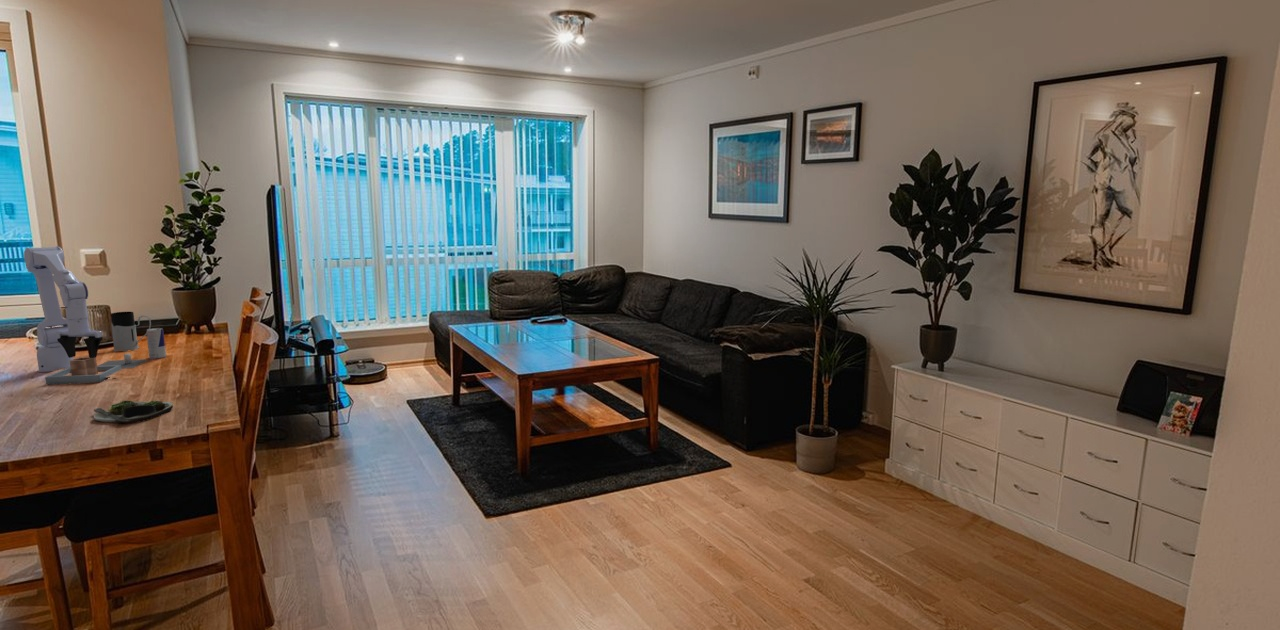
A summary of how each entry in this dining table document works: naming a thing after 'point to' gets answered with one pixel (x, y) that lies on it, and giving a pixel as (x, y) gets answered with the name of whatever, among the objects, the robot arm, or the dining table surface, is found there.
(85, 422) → the dining table surface
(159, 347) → the energy drink
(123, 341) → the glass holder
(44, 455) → the dining table surface
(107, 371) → the grey square frame
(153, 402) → the salad plate
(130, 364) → the stake board
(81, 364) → the tan block
